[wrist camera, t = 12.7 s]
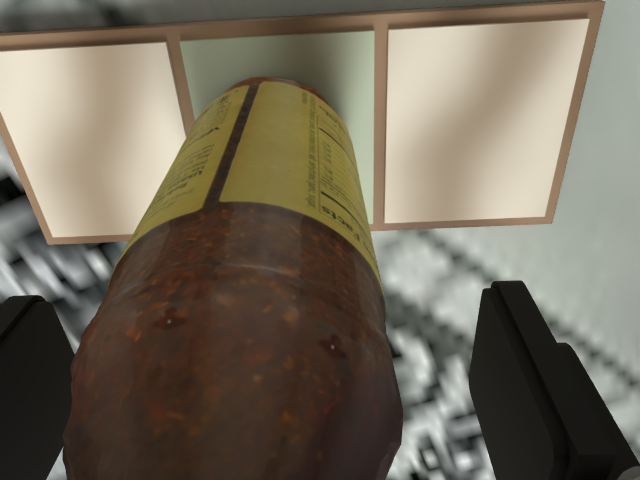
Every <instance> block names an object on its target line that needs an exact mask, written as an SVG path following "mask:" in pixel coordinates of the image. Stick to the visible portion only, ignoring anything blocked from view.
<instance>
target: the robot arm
mask: <svg viewBox="0 0 640 480" xmlns="http://www.w3.org/2000/svg"><path fill="white" fill-rule="evenodd" d="M74 356H75V354H74V352H73V350H72V348H71V345H70V343H69V341H68V339H67V336H66V334H65V332H64V330H63V327H62V325H61V323H60V321H59V318H58V316H57V314H56V312H55V310H54V307H53V306H52V304H51V303H50V302H46V301H45V299H44V298H43V297H42V296H39V295H28V296H12V297H9V298H8V299H7V300H5V302H4V303H3V304H2V305H1V306H0V480H46V479H47V477H48V475H49V473H50V471H51V469H52V467H53V465H54V463H55V461H56V459H57V458H58V456H59V454H60V452H61V450H62V448H63V446H64V439H63V433H64V430H65V427H66V425H67V423H68V420H69V418H70V413H71V406H72V392H71V383H72V376H71V370H70V367H71V364H72V361H73V359H74ZM469 389H470V394H471V397H472V401H473V404H474V407H475V411H476V414H477V417H478V420H479V424H480V427H481V430H482V434H483V437H484V440H485V444H486V447H487V450H488V454H489V457H490V460H491V464H492V467H493V470H494V474H495V477H496V480H640V464H639V462H638V460H637V458H636V457H635V455H634V453H633V452H632V450H631V448H630V446H629V445H628V443H627V441H626V439H625V438H624V436H623V434H622V432H621V431H620V429H619V427H618V426H617V424H616V422H615V420H614V419H613V417H612V415H611V413H610V412H609V410H608V408H607V407H606V405H605V403H604V401H603V400H602V398H601V396H600V394H599V393H598V391H597V389H596V388H595V386H594V384H593V382H592V381H591V379H590V377H589V375H588V374H587V372H586V370H585V368H584V367H583V365H582V363H581V362H580V360H579V358H578V356H577V355H576V353H575V351H574V350H573V349H572V347H571V346H570V345H569V344H567V343H557V342H556V340H555V338H554V337H553V335H552V333H551V331H550V329H549V328H548V326H547V324H546V322H545V320H544V318H543V317H542V315H541V313H540V311H539V309H538V307H537V306H536V304H535V302H534V300H533V298H532V296H531V295H530V293H529V291H528V289H527V287H526V285H525V284H524V283H523V281H494V282H493V283H492V284H491V288H485V289H483V291H482V296H481V302H480V308H479V315H478V321H477V327H476V334H475V340H474V347H473V353H472V359H471V366H470V372H469Z"/></svg>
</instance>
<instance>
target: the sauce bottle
mask: <svg viewBox="0 0 640 480" xmlns="http://www.w3.org/2000/svg"><path fill="white" fill-rule="evenodd" d="M385 314H386V306H385V300H384V295H383V289H382V284H381V279H380V275H379V270H378V266H377V261H376V257H375V252H374V248H373V243H372V238H371V233H370V228H369V223H368V218H367V213H366V208H365V203H364V199H363V194H362V189H361V184H360V179H359V174H358V168H357V163H356V158H355V153H354V148H353V144H352V141H351V138H350V135H349V132H348V129H347V127H346V126H345V124H344V123H343V121H342V120H341V119H340V117H339V116H338V115H337V114H336V112H335V111H334V110H333V109H332V108H331V107H330V105H329V104H328V102H327V100H326V99H325V97H324V96H322V95H321V94H320V93H319V92H318V91H317V90H316V89H314V88H311V87H308V86H306V85H303V84H301V83H299V82H297V81H292V80H286V79H281V78H274V77H271V78H268V77H251V78H249V79H246V80H243V81H241V82H238V83H236V84H234V85H233V86H232V87H230V88H228V89H226V90H225V91H224V92H223V94H221V95H220V96H219V97H218V98H217V99H215V100H214V101H212V102H211V103H210V104H209V105H208V106H207V107H206V108H205V109H204V110H203V111H202V112H201V113H200V115H199V116H198V118H197V119H196V121H195V123H194V125H193V127H192V128H191V130H190V132H189V134H188V136H187V138H186V139H185V141H184V143H183V144H182V146H181V148H180V150H179V152H178V154H177V156H176V158H175V160H174V162H173V163H172V165H171V167H170V169H169V171H168V172H167V174H166V176H165V178H164V180H163V181H162V183H161V185H160V187H159V189H158V191H157V192H156V194H155V196H154V198H153V200H152V202H151V203H150V205H149V207H148V209H147V210H146V212H145V214H144V216H143V217H142V219H141V221H140V222H139V224H138V226H137V228H136V230H135V232H134V233H133V235H132V237H131V239H130V241H129V243H128V244H127V246H126V248H125V250H124V252H123V253H122V255H121V257H120V259H119V261H118V262H117V264H116V266H115V268H114V270H113V272H112V275H111V279H110V282H109V285H108V291H107V294H106V297H105V299H104V300H103V302H102V304H101V305H100V307H99V309H98V311H97V313H96V315H95V316H94V318H93V319H92V320H91V322H90V324H89V325H88V326H87V328H86V329H85V331H84V333H83V334H82V338H81V343H80V346H79V348H78V350H77V352H76V354H75V356H74V359H73V361H72V364H71V367H70V370H71V376H72V383H71V392H72V406H71V413H70V418H69V420H68V423H67V425H66V427H65V430H64V433H63V439H64V447H63V462H64V465H65V469H66V475H67V480H385V479H386V476H387V474H388V472H389V469H390V467H391V465H392V462H393V460H394V457H395V455H396V453H397V451H398V449H399V447H400V445H401V440H402V427H403V407H402V403H401V398H400V393H399V389H398V384H397V379H396V375H395V370H394V366H393V361H392V356H391V350H390V345H389V340H388V337H387V334H386V325H385Z"/></svg>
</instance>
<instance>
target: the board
mask: <svg viewBox="0 0 640 480" xmlns="http://www.w3.org/2000/svg"><path fill="white" fill-rule="evenodd" d="M604 5H605V1H601V0H569V1H551V2H534V3H516V4H499V5H481V6H464V7H446V8H429V9H411V10H394V11H376V12H359V13H341V14H324V15H306V16H289V17H271V18H254V19H236V20H219V21H201V22H184V23H166V24H149V25H131V26H114V27H96V28H79V29H61V30H44V31H26V32H9V33H0V133H1V136H2V138H3V140H4V143H5V145H6V147H7V150H8V152H9V154H10V157H11V159H12V161H13V164H14V166H15V168H16V171H17V173H18V175H19V178H20V180H21V182H22V185H23V187H24V189H25V192H26V194H27V196H28V199H29V201H30V203H31V206H32V208H33V210H34V213H35V215H36V217H37V220H38V222H39V224H40V227H41V229H42V231H43V234H44V236H45V238H46V241H47V243H48V245H52V244H76V243H100V242H123V241H130V239H131V237H132V235H133V233H134V232H135V230H136V228H137V226H138V224H139V222H140V221H141V219H142V217H143V216H144V214H145V212H146V210H147V209H148V207H149V205H150V203H151V202H152V200H153V198H154V196H155V194H156V192H157V191H158V189H159V187H160V185H161V183H162V181H163V180H164V178H165V176H166V174H167V172H168V171H169V169H170V167H171V165H172V163H173V162H174V160H175V158H176V156H177V154H178V152H179V150H180V148H181V146H182V144H183V143H184V141H185V139H186V138H187V136H188V134H189V132H190V130H191V128H192V127H193V125H194V123H195V121H196V119H197V118H198V116H199V115H200V113H201V112H202V111H203V110H204V109H205V108H206V107H207V106H208V105H209V104H210V103H211V102H212V101H214V100H215V99H217V98H218V97H219V96H220V95H221V94H223V92H224V91H225V90H226V89H228V88H230V87H232V86H233V85H234V84H236V83H238V82H241V81H243V80H246V79H249V78H251V77H268V78H271V77H274V78H281V79H286V80H292V81H297V82H299V83H301V84H303V85H306V86H308V87H311V88H314V89H316V90H317V91H318V92H319V93H320V94H321V95H322V96H324V97H325V99H326V100H327V102H328V104H329V105H330V107H331V108H332V109H333V110H334V111H335V112H336V114H337V115H338V116H339V117H340V119H341V120H342V121H343V123H344V124H345V126H346V127H347V129H348V132H349V135H350V138H351V141H352V144H353V148H354V153H355V158H356V163H357V168H358V174H359V179H360V184H361V189H362V194H363V199H364V203H365V208H366V213H367V218H368V223H369V228H370V231H386V230H410V229H433V228H457V227H481V226H505V225H529V224H552V222H553V218H554V213H555V209H556V205H557V201H558V197H559V193H560V188H561V184H562V180H563V176H564V172H565V168H566V163H567V159H568V155H569V151H570V147H571V143H572V138H573V134H574V130H575V126H576V122H577V118H578V113H579V109H580V105H581V101H582V97H583V93H584V88H585V84H586V80H587V76H588V72H589V68H590V63H591V59H592V55H593V51H594V47H595V43H596V38H597V34H598V30H599V26H600V22H601V17H602V13H603V9H604Z"/></svg>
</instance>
